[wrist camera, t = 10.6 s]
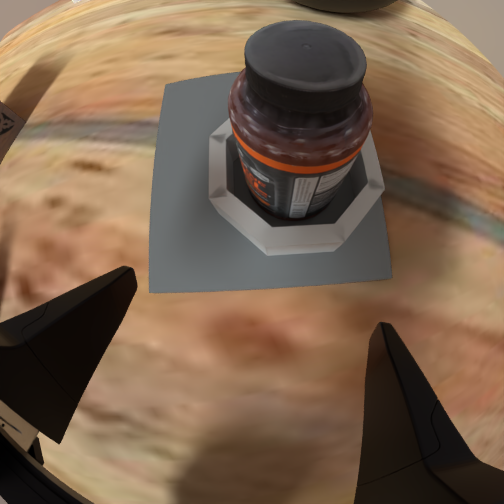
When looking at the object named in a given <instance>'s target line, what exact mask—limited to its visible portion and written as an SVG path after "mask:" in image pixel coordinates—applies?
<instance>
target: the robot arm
mask: <svg viewBox="0 0 504 504" xmlns="http://www.w3.org/2000/svg"><path fill="white" fill-rule="evenodd" d="M136 290H137V280H136V276H135V272H134V269H133V268H131V267H128V266H121V267H119V268H117V269H115V270H113V271H111V272H108V273H106V274H104V275H102V276H100V277H98V278H95V279H93V280H91V281H89V282H87V283H85V284H83V285H81V286H79V287H77V288H74V289H72V290H70V291H68V292H66V293H64V294H62V295H60V296H58V297H56V298H54V299H52V300H50V301H48V302H46V303H44V304H42V305H40V306H38V307H36V308H34V309H32V310H29V311H27V312H25V313H22V314H20V315H18V316H15V317H13V318H11V319H8V320H6V321H4V322H1V323H0V495H1V497H2V498H3V499H4V500H5V501H6V502H7V503H8V504H94V503H92V502H91V501H89V500H88V499H86V498H85V497H83V496H82V495H80V494H79V493H77V492H76V491H74V490H73V489H71V488H70V487H69V486H67V485H66V484H64V483H63V482H62V481H60V480H59V479H58V478H57V477H55V476H54V475H53V474H51V473H50V472H49V471H48V470H46V469H45V468H44V467H43V464H44V460H43V456H42V452H41V447H40V442H39V438H38V437H37V435H38V433H39V431H40V432H41V433H43V434H44V435H46V436H47V437H49V438H50V439H52V440H53V441H55V442H56V443H58V444H60V443H61V441H62V439H63V437H64V434H65V432H66V430H67V427H68V425H69V423H70V421H71V419H72V416H73V414H74V412H75V410H76V408H77V406H78V403H79V401H80V399H81V397H82V395H83V393H84V391H85V389H86V387H87V385H88V383H89V381H90V379H91V377H92V375H93V373H94V371H95V369H96V368H97V366H98V364H99V362H100V360H101V358H102V356H103V355H104V353H105V351H106V349H107V347H108V345H109V344H110V342H111V340H112V338H113V336H114V335H115V333H116V331H117V329H118V328H119V326H120V324H121V322H122V320H123V318H124V316H125V314H126V312H127V310H128V307H129V305H130V303H131V301H132V299H133V297H134V295H135V293H136ZM437 399H438V398H437V396H436V394H435V392H434V391H433V389H432V387H431V386H430V384H429V382H428V381H427V379H426V377H425V376H424V374H423V372H422V371H421V369H420V368H419V366H418V364H417V363H416V361H415V360H414V358H413V356H412V355H411V353H410V352H409V350H408V349H407V347H406V346H405V344H404V342H403V341H402V339H401V338H400V336H399V335H398V333H397V332H396V330H395V329H394V327H393V326H392V325H391V324H390V323H385V322H379V323H378V325H377V327H376V328H375V330H374V332H373V334H372V336H371V338H370V341H369V349H368V359H367V368H366V377H365V398H364V421H363V435H362V447H361V457H360V466H359V474H358V481H357V486H358V487H356V493H355V499H354V504H504V471H503V470H500V469H498V468H495V467H493V466H490V465H488V464H486V463H483V462H482V461H480V460H479V459H478V458H476V457H475V456H474V454H473V453H472V452H471V450H470V449H469V447H468V446H467V444H466V442H465V441H464V439H463V438H462V436H461V435H460V433H459V432H458V430H457V429H456V427H455V426H454V424H453V423H452V421H451V420H450V418H449V416H448V415H447V413H446V411H445V410H444V408H443V406H442V404H441V403H440V401H439V400H437Z"/></svg>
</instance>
